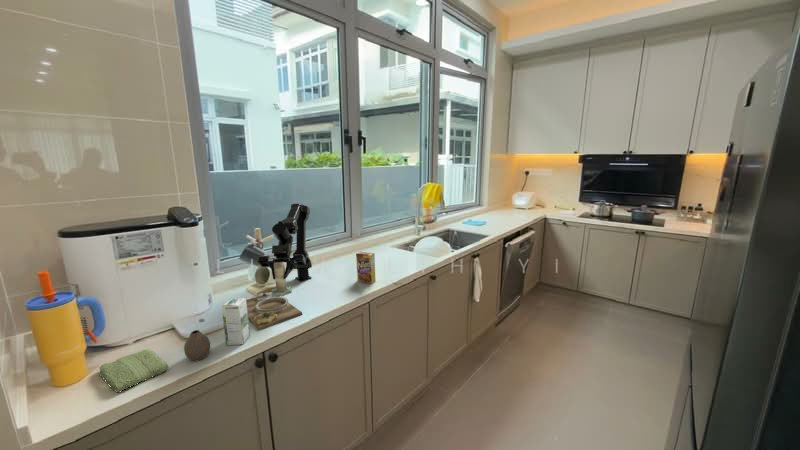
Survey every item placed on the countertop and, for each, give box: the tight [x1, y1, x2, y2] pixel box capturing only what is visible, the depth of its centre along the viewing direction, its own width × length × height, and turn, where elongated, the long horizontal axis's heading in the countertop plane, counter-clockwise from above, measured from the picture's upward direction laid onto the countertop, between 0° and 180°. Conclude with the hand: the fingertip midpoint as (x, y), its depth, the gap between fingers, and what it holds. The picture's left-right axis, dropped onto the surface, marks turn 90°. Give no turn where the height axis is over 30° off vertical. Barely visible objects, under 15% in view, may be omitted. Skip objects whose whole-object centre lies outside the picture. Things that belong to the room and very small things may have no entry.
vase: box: [183, 329, 211, 362], centre depth 97 cm, size 7×7×9 cm
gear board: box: [246, 291, 303, 331], centre depth 129 cm, size 30×17×3 cm, turn 44°
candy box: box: [355, 250, 376, 284], centre depth 157 cm, size 9×4×15 cm, turn 64°
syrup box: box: [221, 297, 250, 346], centre depth 105 cm, size 6×6×14 cm
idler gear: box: [270, 262, 293, 297], centre depth 128 cm, size 8×8×13 cm
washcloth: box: [98, 348, 169, 393], centre depth 91 cm, size 13×18×3 cm
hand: (279, 279), depth 126 cm, fingers closed on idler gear, 4 cm apart
